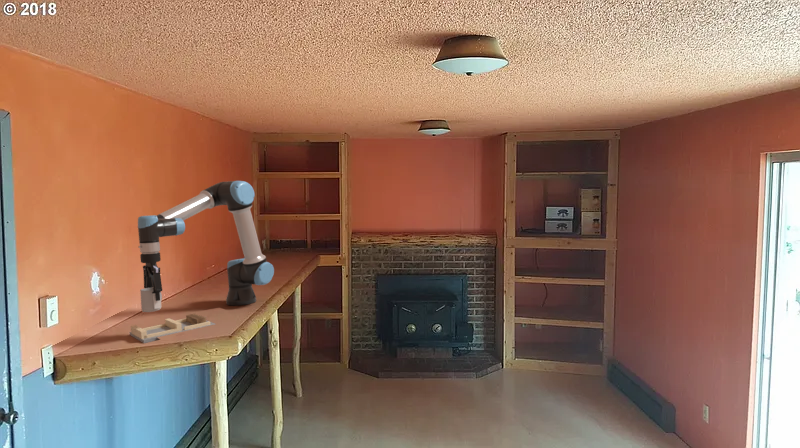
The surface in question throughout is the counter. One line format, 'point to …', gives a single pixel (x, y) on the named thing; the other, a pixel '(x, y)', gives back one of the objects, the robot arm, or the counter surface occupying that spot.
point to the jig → (164, 329)
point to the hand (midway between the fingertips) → (154, 306)
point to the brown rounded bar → (195, 319)
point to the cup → (148, 300)
